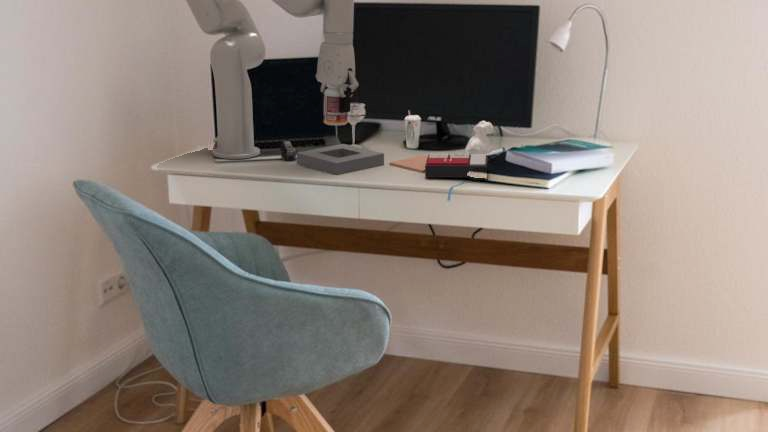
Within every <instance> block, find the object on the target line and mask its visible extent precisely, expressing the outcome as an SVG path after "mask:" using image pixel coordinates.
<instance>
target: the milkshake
mask: <svg viewBox="0 0 768 432" xmlns="http://www.w3.org/2000/svg"><path fill="white" fill-rule="evenodd" d="M407 111H408V115H406V116H405V118H404V129H405V130H404V132H405V142H406V148H407V149H418V148H419V144H420V131H421V121H422V118H421V116H420V115H418V114H413V115H412V114H411V110H407Z"/></svg>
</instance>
